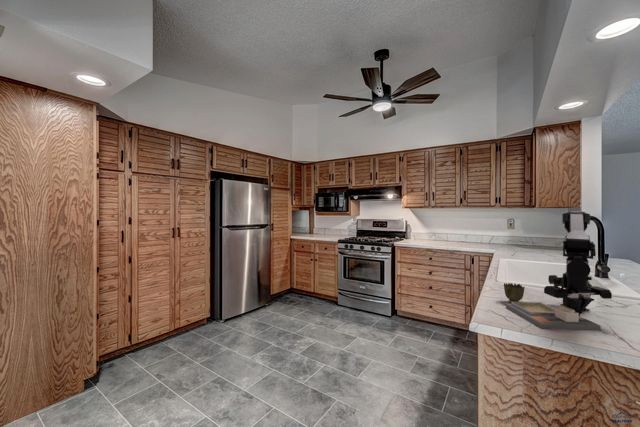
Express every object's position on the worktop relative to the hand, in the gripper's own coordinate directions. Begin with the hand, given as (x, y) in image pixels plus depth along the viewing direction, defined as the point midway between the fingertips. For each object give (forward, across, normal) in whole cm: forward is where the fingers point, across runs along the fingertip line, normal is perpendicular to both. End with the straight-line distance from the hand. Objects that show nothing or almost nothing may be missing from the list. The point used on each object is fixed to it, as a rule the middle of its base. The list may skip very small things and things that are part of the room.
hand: (576, 316), depth 97 cm
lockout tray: (+2, +7, -10) cm, 12 cm away
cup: (+3, +8, -22) cm, 23 cm away
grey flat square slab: (+3, +5, -6) cm, 8 cm away
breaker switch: (+1, +3, 0) cm, 4 cm away
